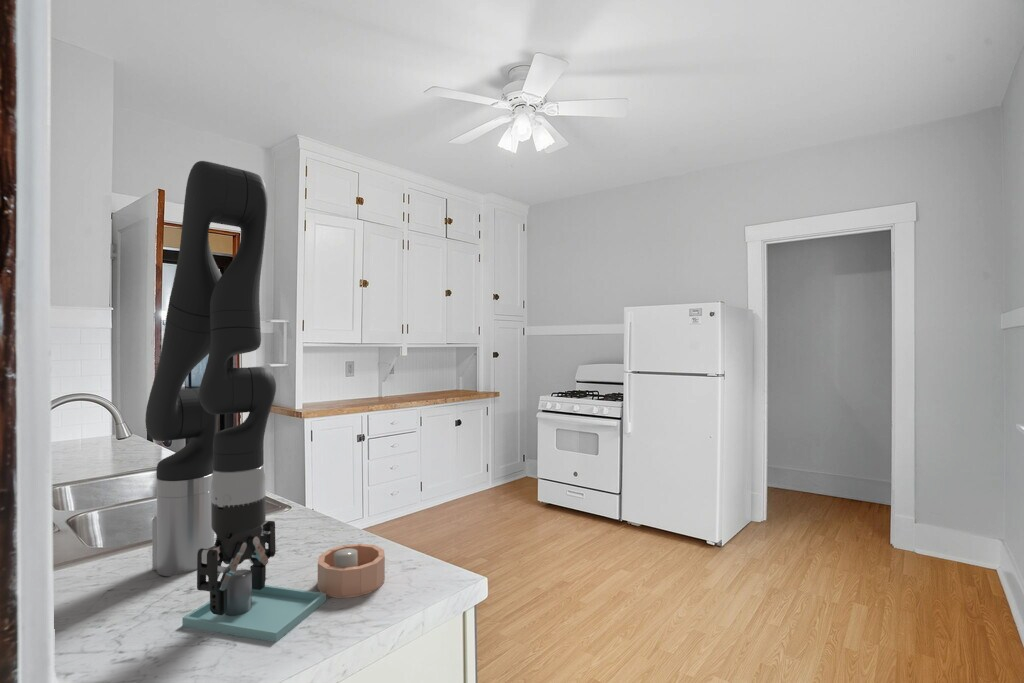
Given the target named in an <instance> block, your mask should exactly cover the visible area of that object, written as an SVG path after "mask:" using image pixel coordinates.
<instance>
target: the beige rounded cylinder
mask: <svg viewBox="0 0 1024 683" xmlns="http://www.w3.org/2000/svg"><path fill="white" fill-rule="evenodd" d="M356 566H358V552H357V550H356V549H351V548H347V549H341V550H338V551H336V552H335V553H334V567H341V568H347V567H356Z"/></svg>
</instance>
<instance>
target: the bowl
mask: <svg viewBox="0 0 1024 683" xmlns="http://www.w3.org/2000/svg"><path fill="white" fill-rule="evenodd" d="M347 548H351V549H356V550H357V552H358V566H356V567H347V568H341V567H334V553H335V552H336V551H338V550H341V549H347ZM385 559H386V556H385V549H383V548H382V547H379V546H378V545H375V544H369V543H353V544H342V545H339V546H336V547H333V548H330V549H327V550H326V551H325V552H322V553H321V554H320V555H319V556H318V558H317V589H318V590H319V591H318V592H320V593H326V597H332V598H338V599H340V598H341V599H343V598H345V599H346V598H354V597H359V596H360V597H361V596H363V595H366V594H367V595H368V594H369V593H372V592H374V591H376V590H377V589H379V588H380V587H382V585H383V584H384V582H385V580H386V578H385V574H386V573H385V572H386V570H385V568H386V563H385Z"/></svg>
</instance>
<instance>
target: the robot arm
mask: <svg viewBox="0 0 1024 683" xmlns="http://www.w3.org/2000/svg"><path fill="white" fill-rule="evenodd" d="M185 188H186V189H185V194H184V203H183V212H182V224H181V235H180V244H179V250H178V251H179V252H178V258H177V261H176V268H175V274H174V277H173V283H172V287H171V290H170V291H171V292H170V296H169V300H168V305H167V311H166V312H167V313H166V316H165V326H164V332H163V337H162V346H161V351H160V355H159V361H158V365H157V369H156V371H155V376H154V378H153V382H152V386H151V390H150V393H149V397H148V401H147V405H146V408H145V409H146V410H145V420H144V422H145V429H146V433H147V435H148V436H149V437H150V439H152V440H154V441H156V442H158V441H159V442H168V441H177V440H186V439H189V440H188V442H187V444H185V446H184V447H182V448H181V449H180V450H178V451H176V452H175V453H173V454H171V455H169V456H166V457H165V458H162V459H160V461H159V462H158V463H157V465H156V516H155V517H153V518H152V521H151V523H152V524H151V526H152V528H151V530H152V534H151V537H152V538H151V539H152V540H151V541H152V542H151V543H152V544H151V545H152V546H151V547H152V548H151V549H152V550H151V551H152V558H151V560H152V561H151V562H152V564H151V565H152V570H153V571H156V573H157V574H158V575H160V576H163V577H172V576H174V575H177V574H178V575H179V574H185V573H189V572H193V571H196V589H197V590H198V591H204V592H209V601H210V610H211V612H212V613H213V614H216V615H223V614H225V613H226V612H227V588H226V586H227V584H228V581H229V579H230V576H231V575H232V574H234V573H235V571H236V570H238V569H237V568H238V566H239V565H241V564H242V563H244V561H246V560H248V561H249V563H250V564H251V565H250V567H249V570H250V571H252V589H256V590H261V589H263V588H264V587H265V585H266V580H267V579H266V578H267V577H266V575H267V572H266V570H267V569H266V568H267V567H266V566H267V565H268V563H269V559H270V558H273V557H275V555H276V549H277V548H276V522H275V521H274V520H266V510H267V509H266V507H267V506H266V473H265V467H264V466H265V465H264V463H265V462H264V458H265V457H264V454H265V453H264V451H265V450H264V443H265V433H266V429H267V428H266V427H267V422H268V421H269V420H268V419H269V415H270V413H271V410H272V406H273V404H274V400H275V396H276V391H277V384H276V378H275V376H274V375H273V374H272V372H271V370H269V369H267V368H266V367H262V366H251V367H250V366H249V367H227V362H228V360H229V359H230V358H232V357H234V356H237V355H242V354H247V353H252V352H254V351H257V350H258V349H259V348H260V347H261V343H262V335H261V333H262V331H261V310H260V307H261V306H260V286H261V275H262V274H261V273H262V266H263V257H264V250H265V249H264V248H265V239H266V228H267V218H268V217H267V216H268V201H269V200H268V191H267V186H266V183H265V181H264V179H263V178H262V176H261V175H259V174H257V173H254V172H252V171H248V170H245V169H240V168H238V167H237V168H236V167H232V166H228V165H224V164H219V163H216V162H212V161H208V160H207V161H206V160H199V161H196V162H195V163H194V164H193V166H192V167H191V169H190V172H189V174H188V178H187V180H186V187H185ZM211 223H212V224H213V223H214V224H220V225H225V226H230V227H231V226H232V227H237V228H240V240H239V245H238V249H237V251H236V254H235V255H234V257H233V259H232V260H231V262H230V263H229V264H228V266H227V267H226V269H225V271H224V272H223V274H222V272H221V271H220V269H219V267H218V265H217V262H216V261H215V258H214V255H213V253H212V250H211V246H210V240H209V238H210V237H209V235H210V234H209V233H210V232H209V231H210V225H211ZM207 356H208V358H207V362H206V366H205V370H204V372H203V375H202V378H201V381H200V385H199V387H195V388H192V387H191V388H183V389H182V387H183V386H184V382H185V380H186V379H187V377H188V375H189V374H190V373H191V372H192V371H193V370H194V369H195V367H197V365H199V363H201V361H202V360H204V359H205V358H206V357H207ZM242 413H248V415H247V417H246V419H245V420H244V421H242V422H241V423H240V424H237V425H235V426H232V427H228V428H225V429H222V430H220V431H218V430H217V429H218V416H219V415H229V414H242ZM215 534H216V538H215ZM266 544H267V547H268V548H267V547H266ZM223 563H224V564H225V565H227V566H222V564H223ZM221 574H222V576H221V577H219V576H220V575H221ZM207 578H208V580H207ZM219 578H220V579H219Z"/></svg>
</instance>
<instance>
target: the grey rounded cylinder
mask: <svg viewBox="0 0 1024 683" xmlns="http://www.w3.org/2000/svg"><path fill="white" fill-rule="evenodd" d="M226 588H227V612H226V613H225V614H226V615H228V616H238V615H242V614H245V613H247V612H248V611H250V610H251V608H252V571H250V569H248V568H247V569H246V568H245V569H244V568H242V569H236V571H235V573H234V574H232V575H231V576H230V579H229V581H228V584H227V586H226Z"/></svg>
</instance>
